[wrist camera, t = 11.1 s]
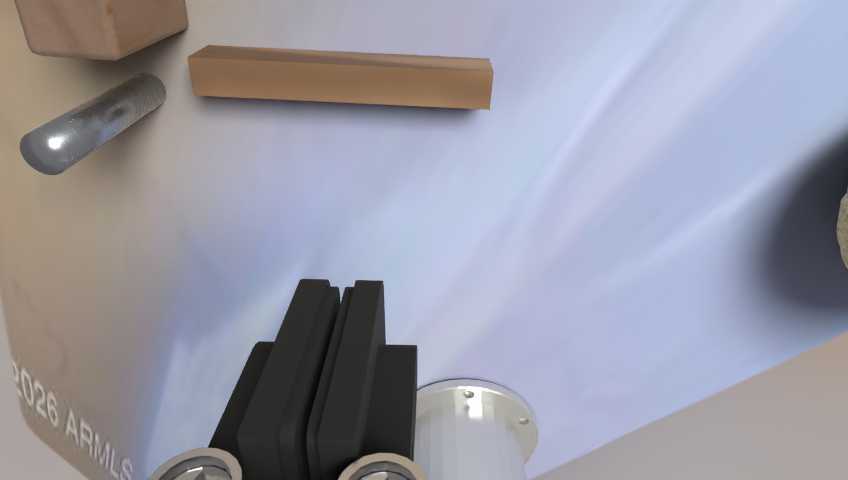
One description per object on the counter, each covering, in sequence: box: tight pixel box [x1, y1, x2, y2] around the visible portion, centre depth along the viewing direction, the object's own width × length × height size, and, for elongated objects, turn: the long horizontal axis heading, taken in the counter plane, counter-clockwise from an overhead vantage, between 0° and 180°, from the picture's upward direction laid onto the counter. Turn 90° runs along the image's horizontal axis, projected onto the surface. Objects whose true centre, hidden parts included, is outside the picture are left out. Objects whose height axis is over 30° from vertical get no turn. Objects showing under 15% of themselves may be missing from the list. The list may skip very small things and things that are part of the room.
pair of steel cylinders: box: [20, 73, 166, 175], centre depth 25 cm, size 13×2×10 cm, turn 178°
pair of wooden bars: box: [188, 45, 493, 110], centre depth 28 cm, size 10×16×3 cm, turn 88°
